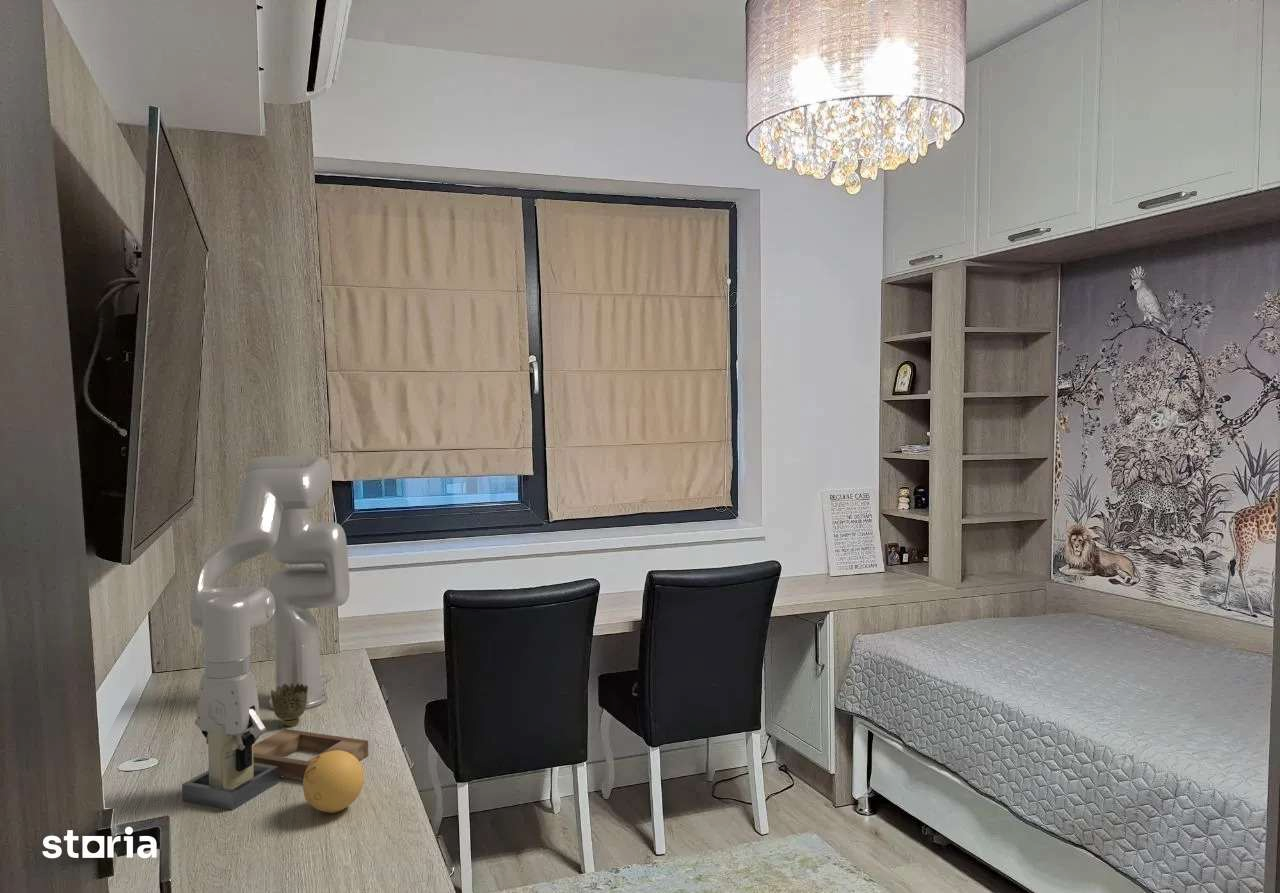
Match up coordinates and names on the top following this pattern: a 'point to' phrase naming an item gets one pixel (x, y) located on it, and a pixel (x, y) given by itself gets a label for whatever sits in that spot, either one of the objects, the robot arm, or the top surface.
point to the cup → (289, 703)
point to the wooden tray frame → (293, 740)
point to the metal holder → (227, 798)
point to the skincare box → (225, 760)
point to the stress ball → (333, 781)
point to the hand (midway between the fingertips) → (231, 765)
